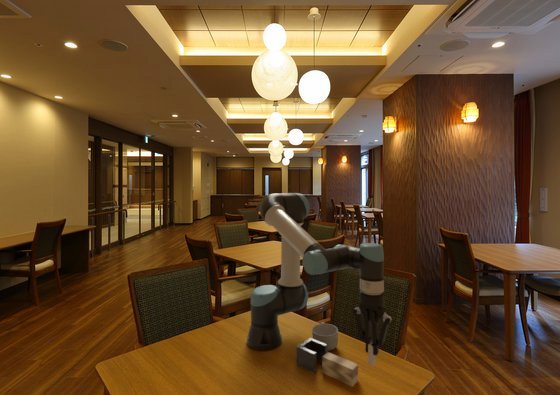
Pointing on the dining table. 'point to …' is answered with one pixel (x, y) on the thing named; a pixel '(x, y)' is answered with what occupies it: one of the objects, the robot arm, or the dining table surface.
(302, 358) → the end cap
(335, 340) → the teacup
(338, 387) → the dining table surface
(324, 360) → the beige marbled block
